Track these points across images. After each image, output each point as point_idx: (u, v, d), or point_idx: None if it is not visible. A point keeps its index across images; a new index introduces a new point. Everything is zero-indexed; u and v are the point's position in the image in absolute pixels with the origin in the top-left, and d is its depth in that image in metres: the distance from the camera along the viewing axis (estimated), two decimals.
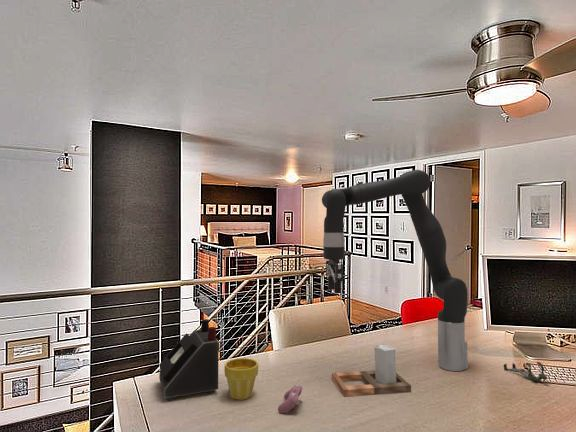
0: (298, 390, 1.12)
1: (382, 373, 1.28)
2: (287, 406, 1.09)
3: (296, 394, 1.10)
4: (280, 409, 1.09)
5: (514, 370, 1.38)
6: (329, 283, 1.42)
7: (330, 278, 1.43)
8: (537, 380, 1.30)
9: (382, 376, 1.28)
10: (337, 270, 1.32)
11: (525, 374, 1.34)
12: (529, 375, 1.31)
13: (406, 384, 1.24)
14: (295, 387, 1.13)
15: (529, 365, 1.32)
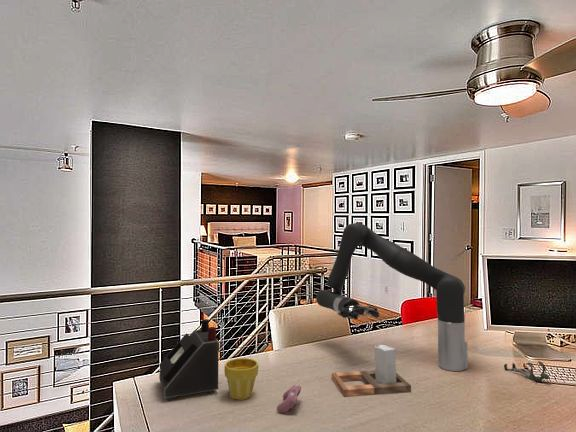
0: (297, 390, 1.12)
1: (382, 373, 1.28)
2: (286, 406, 1.09)
3: (295, 394, 1.10)
4: (279, 409, 1.09)
5: (515, 370, 1.39)
6: (373, 315, 1.44)
7: (371, 313, 1.45)
8: (539, 380, 1.30)
9: (382, 376, 1.28)
10: (339, 314, 1.45)
11: (526, 374, 1.34)
12: (531, 375, 1.31)
13: (406, 384, 1.24)
14: (294, 387, 1.13)
15: (531, 365, 1.32)
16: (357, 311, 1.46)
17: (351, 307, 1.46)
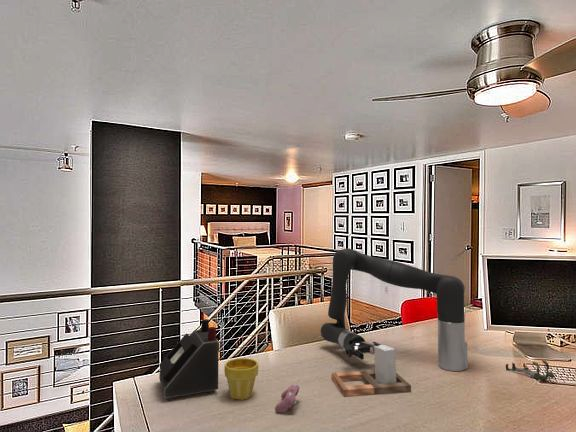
0: (295, 390, 1.12)
1: (382, 373, 1.28)
2: (284, 405, 1.09)
3: (293, 394, 1.10)
4: (277, 409, 1.09)
5: (517, 370, 1.39)
6: None
7: None
8: (544, 379, 1.31)
9: (382, 376, 1.28)
10: (345, 352, 1.42)
11: (531, 373, 1.35)
12: (537, 374, 1.32)
13: (406, 384, 1.24)
14: (292, 387, 1.13)
15: (537, 364, 1.32)
16: (363, 349, 1.42)
17: (357, 345, 1.42)
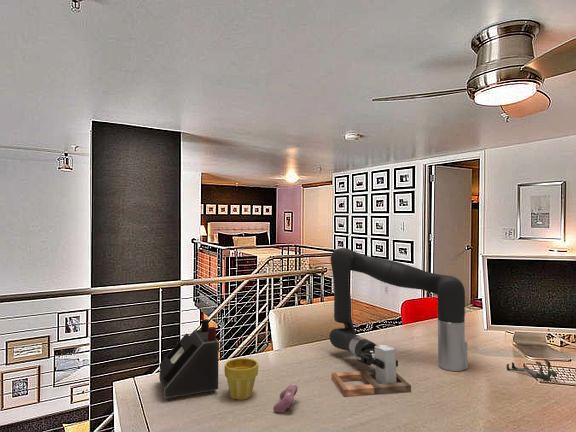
0: (293, 390, 1.12)
1: (382, 373, 1.28)
2: (282, 405, 1.09)
3: (291, 394, 1.10)
4: (276, 409, 1.09)
5: (519, 369, 1.39)
6: None
7: None
8: (547, 378, 1.32)
9: (382, 376, 1.28)
10: (361, 361, 1.32)
11: (533, 373, 1.36)
12: (540, 374, 1.33)
13: (406, 384, 1.24)
14: (290, 387, 1.13)
15: (540, 364, 1.33)
16: None
17: (372, 353, 1.34)
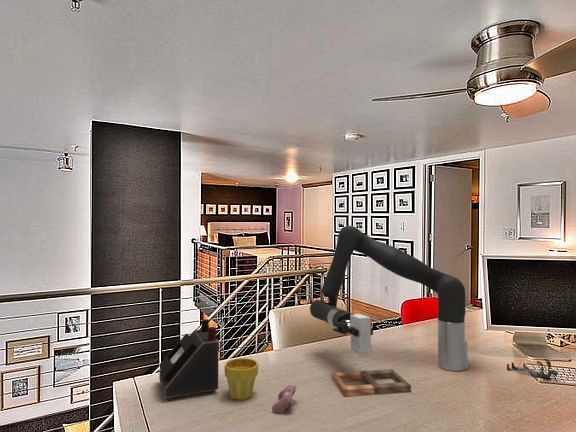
0: (292, 390, 1.12)
1: (357, 341, 1.27)
2: (281, 405, 1.09)
3: (290, 394, 1.10)
4: (274, 409, 1.09)
5: (519, 369, 1.39)
6: None
7: None
8: (548, 377, 1.33)
9: (356, 344, 1.27)
10: (336, 330, 1.32)
11: (533, 372, 1.36)
12: (541, 373, 1.33)
13: (406, 384, 1.24)
14: (289, 387, 1.13)
15: (541, 363, 1.33)
16: None
17: (348, 322, 1.33)
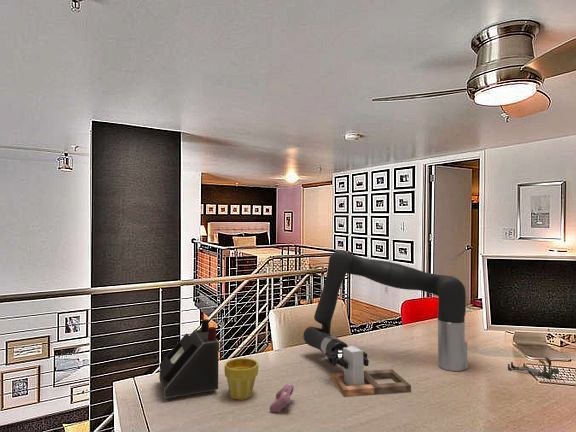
0: (290, 389, 1.12)
1: (349, 375, 1.26)
2: (279, 405, 1.09)
3: (288, 393, 1.10)
4: (272, 408, 1.09)
5: (521, 369, 1.40)
6: None
7: None
8: (550, 375, 1.34)
9: (349, 378, 1.26)
10: (327, 361, 1.31)
11: (535, 371, 1.37)
12: None
13: (406, 384, 1.24)
14: (287, 386, 1.13)
15: (543, 362, 1.34)
16: None
17: (340, 352, 1.32)
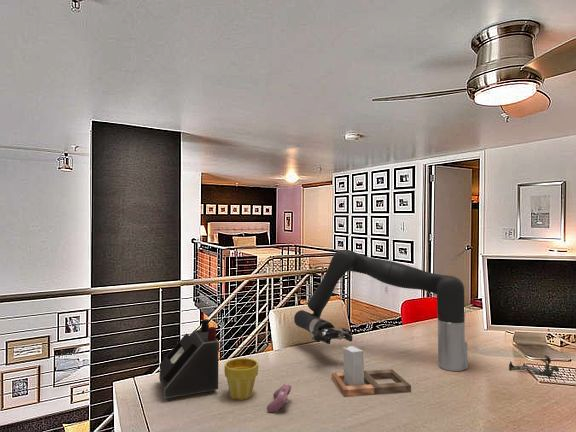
0: (287, 389, 1.12)
1: (349, 375, 1.26)
2: (276, 405, 1.09)
3: (285, 393, 1.11)
4: (269, 408, 1.10)
5: (522, 368, 1.40)
6: (347, 339, 1.42)
7: (345, 336, 1.44)
8: (551, 373, 1.36)
9: (349, 378, 1.26)
10: (313, 338, 1.44)
11: (536, 370, 1.38)
12: (545, 370, 1.36)
13: (406, 384, 1.24)
14: (284, 386, 1.14)
15: (545, 361, 1.36)
16: (331, 335, 1.45)
17: (325, 331, 1.45)
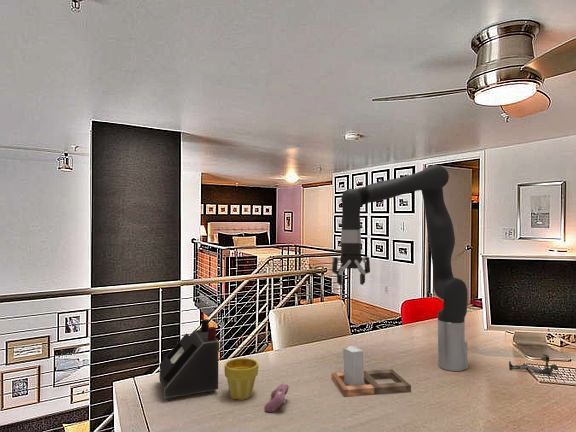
0: (284, 389, 1.13)
1: (349, 375, 1.26)
2: (273, 405, 1.09)
3: (282, 393, 1.11)
4: (267, 408, 1.10)
5: (522, 368, 1.41)
6: (360, 278, 1.49)
7: (361, 273, 1.49)
8: (550, 372, 1.38)
9: (349, 378, 1.26)
10: (332, 263, 1.48)
11: (536, 369, 1.39)
12: (546, 369, 1.37)
13: (406, 384, 1.24)
14: (281, 386, 1.14)
15: (545, 359, 1.37)
16: None
17: (345, 266, 1.46)
